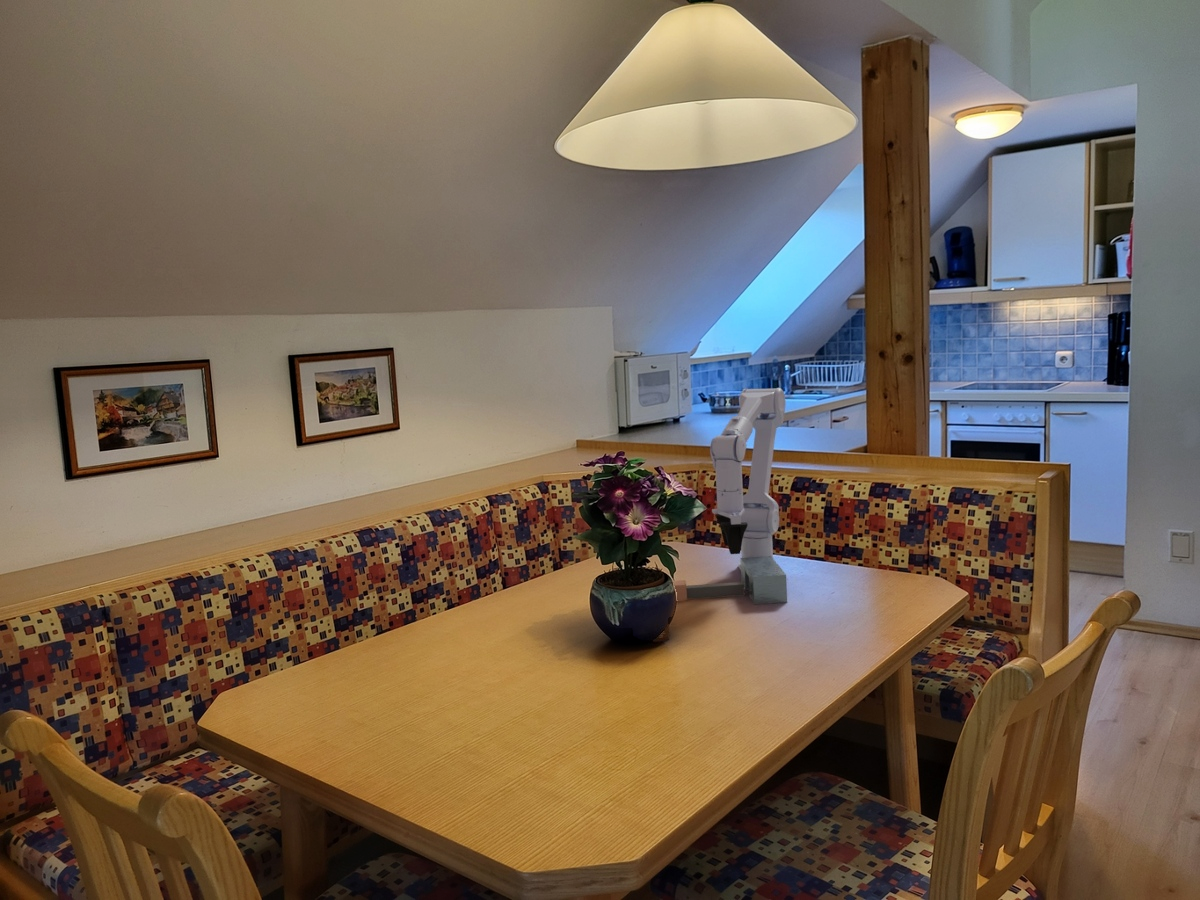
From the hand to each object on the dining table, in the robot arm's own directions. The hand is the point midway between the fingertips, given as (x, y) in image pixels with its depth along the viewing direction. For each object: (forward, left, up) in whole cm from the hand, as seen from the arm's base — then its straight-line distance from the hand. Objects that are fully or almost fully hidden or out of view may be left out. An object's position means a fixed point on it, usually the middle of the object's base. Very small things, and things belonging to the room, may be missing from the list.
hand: (732, 549), depth 205 cm
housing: (+3, +6, -9) cm, 12 cm away
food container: (+26, -22, -10) cm, 35 cm away
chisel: (+3, -7, -10) cm, 12 cm away
